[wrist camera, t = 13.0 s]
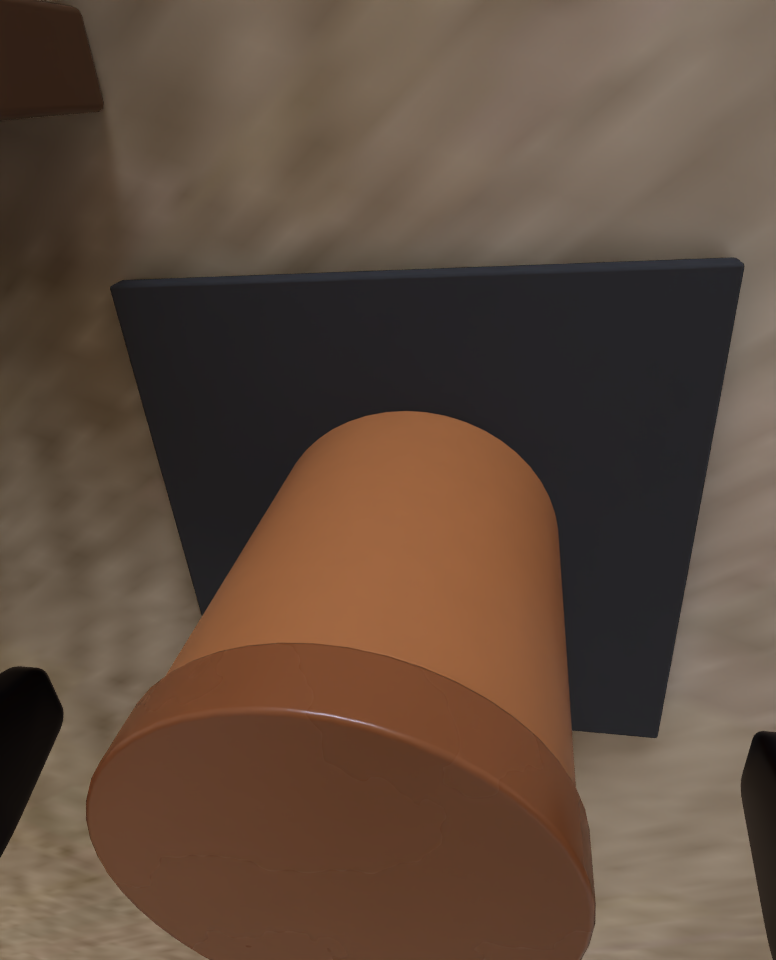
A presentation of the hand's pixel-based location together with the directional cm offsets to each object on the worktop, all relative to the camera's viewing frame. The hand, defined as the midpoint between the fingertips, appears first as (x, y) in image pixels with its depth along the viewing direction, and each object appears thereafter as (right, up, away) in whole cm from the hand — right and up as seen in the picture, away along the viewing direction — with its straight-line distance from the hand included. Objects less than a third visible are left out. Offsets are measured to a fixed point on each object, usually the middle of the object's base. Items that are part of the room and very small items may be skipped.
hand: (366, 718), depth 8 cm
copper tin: (+1, +2, +3) cm, 4 cm away
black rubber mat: (+1, +2, +4) cm, 4 cm away
